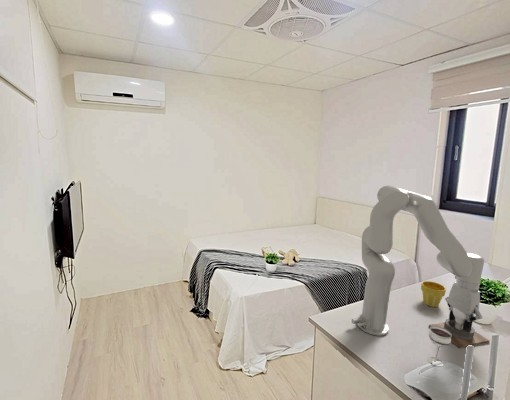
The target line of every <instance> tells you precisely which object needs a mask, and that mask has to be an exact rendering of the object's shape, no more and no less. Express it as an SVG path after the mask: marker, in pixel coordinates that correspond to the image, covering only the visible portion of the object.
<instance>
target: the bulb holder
mask: <svg viewBox="0 0 510 400" xmlns="http://www.w3.org/2000/svg"><path fill="white" fill-rule="evenodd" d="M455 323H456V321H455V320H449V318H447V319H445V321H444V322H438V323H431V324H429V325H428V328H430V327H432V326H438V327H442V328H444V329H446V330H448V331H449V332H450V333H451V334H452V337H451V343H450V344H452V345H454V346H455V347H457V348H458V349H461V348H467V347H466V346H468V345H473V346H472V347H474V346H480V345H485V344H488V343H490V342H491V341H490V340H489V339H488V338H486V337H485V336H483V335H482V334H480V333H478V332H477V331H475V330H476V329H475V328H474V326H472V327H471V329H467V330H465V329H464V328H463V329H462V330H458V329H456V328H455ZM463 327H464V325H463ZM468 347H469V346H468Z"/></svg>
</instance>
